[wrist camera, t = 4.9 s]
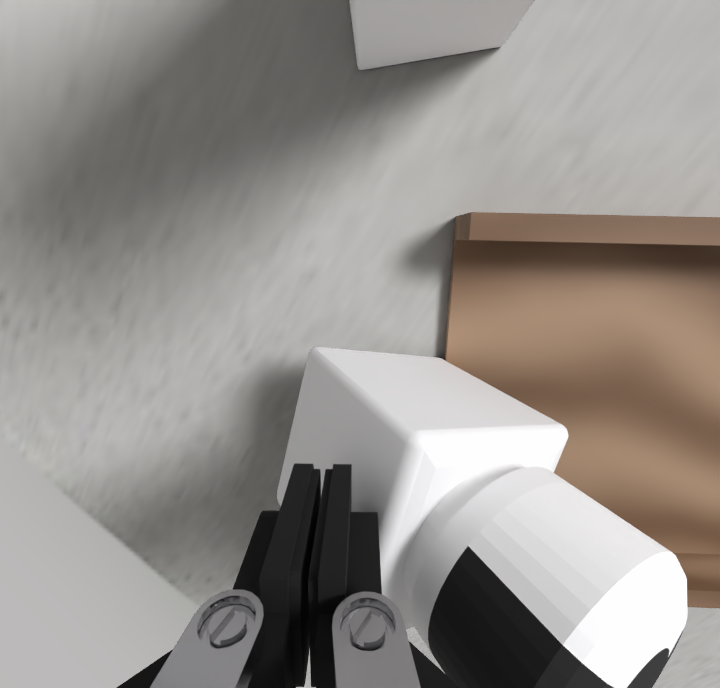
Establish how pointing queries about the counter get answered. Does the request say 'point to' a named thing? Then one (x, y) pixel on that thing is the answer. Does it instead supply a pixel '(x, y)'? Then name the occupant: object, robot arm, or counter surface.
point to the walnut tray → (607, 359)
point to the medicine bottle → (487, 527)
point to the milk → (430, 28)
